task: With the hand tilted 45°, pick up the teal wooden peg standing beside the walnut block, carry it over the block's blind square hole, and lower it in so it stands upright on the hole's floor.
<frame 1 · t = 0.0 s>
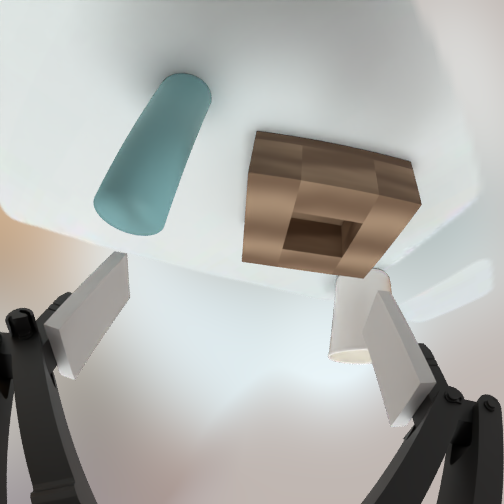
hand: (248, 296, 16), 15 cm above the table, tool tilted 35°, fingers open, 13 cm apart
candle holder: (363, 278, 46), on the table
teal peg: (184, 95, 23), on the table
walnut block: (320, 195, 31), on the table
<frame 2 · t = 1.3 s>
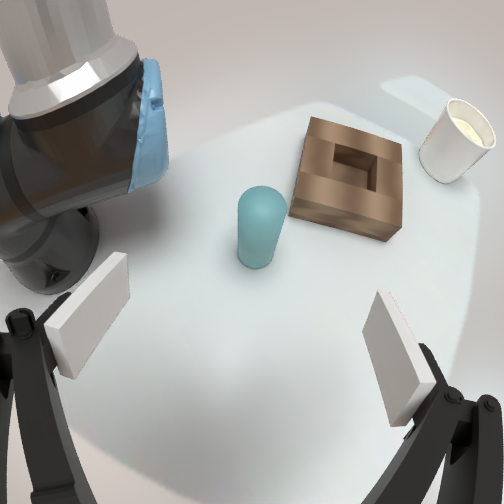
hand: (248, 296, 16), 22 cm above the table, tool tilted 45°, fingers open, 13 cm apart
candle holder: (437, 164, 47), on the table
teal peg: (255, 252, 40), on the table
walnut block: (344, 186, 44), on the table
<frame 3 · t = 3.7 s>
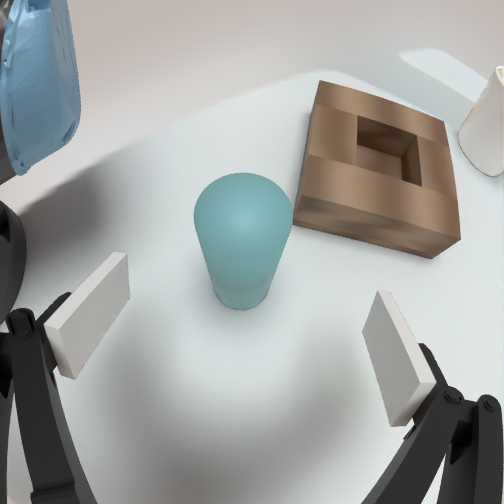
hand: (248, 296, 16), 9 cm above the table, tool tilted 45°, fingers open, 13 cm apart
candle holder: (479, 152, 33), on the table
teal peg: (241, 282, 25), on the table
walnut block: (370, 178, 29), on the table
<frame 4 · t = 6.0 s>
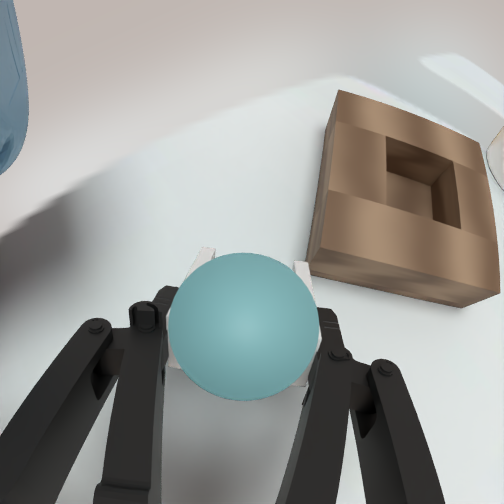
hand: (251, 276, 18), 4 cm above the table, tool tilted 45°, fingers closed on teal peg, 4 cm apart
teal peg: (241, 347, 20), on the table, touching gripper
walnut block: (396, 211, 24), on the table
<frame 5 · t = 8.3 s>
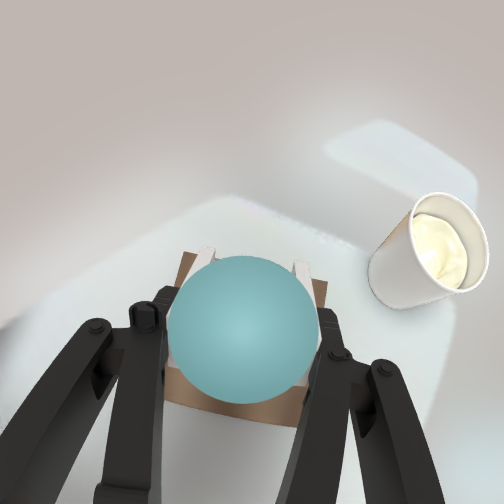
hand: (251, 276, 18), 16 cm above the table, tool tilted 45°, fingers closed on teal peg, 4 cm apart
candle holder: (396, 277, 36), on the table
teal peg: (241, 349, 20), point 12 cm above the table, touching gripper
walnut block: (239, 343, 32), on the table
when the fingers open (7 cm above the table, at t = 10.9 s): teal peg drops 1 cm, resting on walnut block.
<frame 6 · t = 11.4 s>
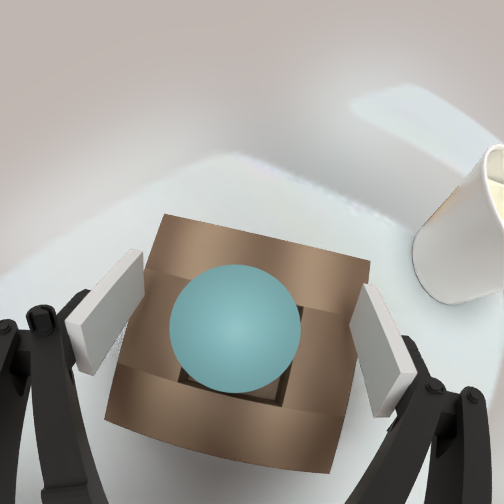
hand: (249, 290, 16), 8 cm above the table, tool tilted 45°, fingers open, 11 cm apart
candle holder: (445, 262, 26), on the table
teal peg: (240, 350, 21), point 1 cm above the table, touching walnut block
walnut block: (241, 349, 22), on the table
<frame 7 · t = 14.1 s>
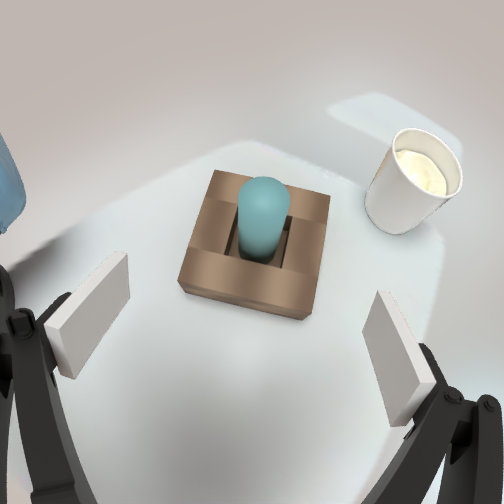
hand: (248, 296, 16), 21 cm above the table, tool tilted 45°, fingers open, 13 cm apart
candle holder: (389, 209, 42), on the table
teal peg: (257, 249, 38), point 1 cm above the table, touching walnut block
walnut block: (256, 251, 39), on the table
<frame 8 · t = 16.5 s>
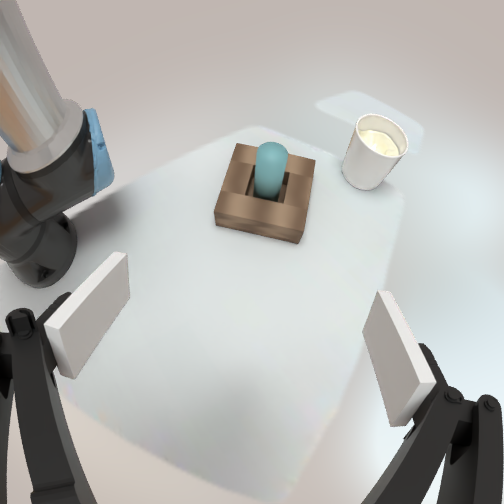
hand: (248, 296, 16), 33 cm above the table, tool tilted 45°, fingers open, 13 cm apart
candle holder: (361, 173, 58), on the table
teal peg: (265, 196, 54), point 1 cm above the table, touching walnut block
walnut block: (265, 198, 55), on the table
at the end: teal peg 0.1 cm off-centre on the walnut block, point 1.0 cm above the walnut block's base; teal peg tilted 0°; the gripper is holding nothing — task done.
